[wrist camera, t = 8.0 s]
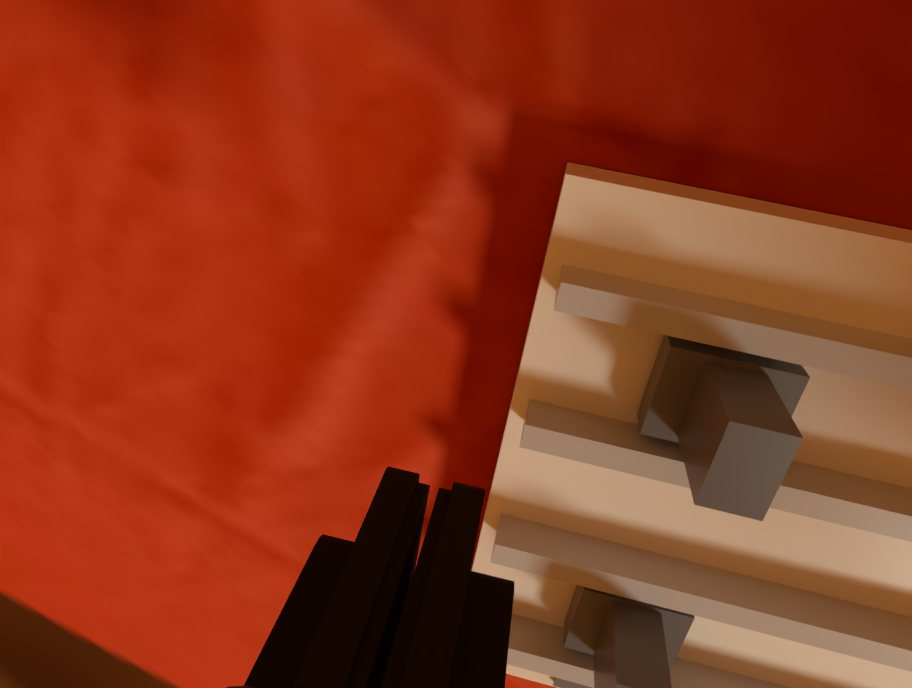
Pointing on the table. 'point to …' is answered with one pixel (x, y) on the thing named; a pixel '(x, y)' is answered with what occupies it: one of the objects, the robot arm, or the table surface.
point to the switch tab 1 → (625, 638)
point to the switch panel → (661, 462)
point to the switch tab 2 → (725, 421)
